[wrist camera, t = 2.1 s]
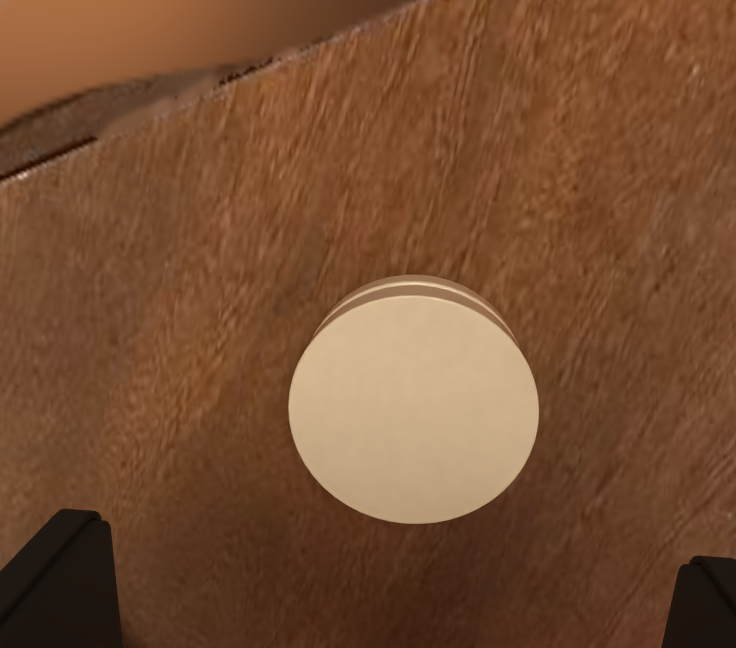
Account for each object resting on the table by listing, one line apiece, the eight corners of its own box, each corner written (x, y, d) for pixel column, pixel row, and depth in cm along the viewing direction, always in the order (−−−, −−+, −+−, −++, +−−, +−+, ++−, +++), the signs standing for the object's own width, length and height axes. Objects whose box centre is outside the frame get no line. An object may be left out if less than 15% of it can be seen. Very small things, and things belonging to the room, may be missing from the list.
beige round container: (533, 277, 18) (555, 303, 15) (509, 477, 20) (524, 534, 17) (308, 265, 18) (287, 288, 16) (306, 462, 20) (288, 514, 18)
